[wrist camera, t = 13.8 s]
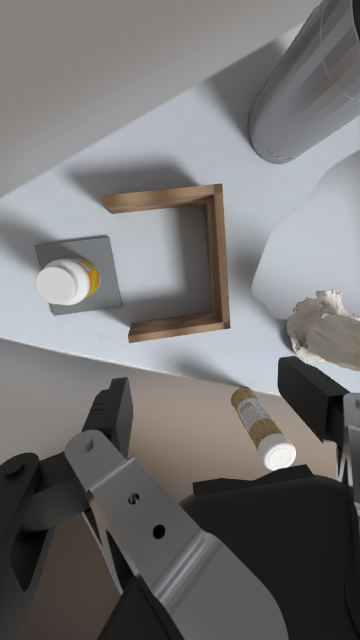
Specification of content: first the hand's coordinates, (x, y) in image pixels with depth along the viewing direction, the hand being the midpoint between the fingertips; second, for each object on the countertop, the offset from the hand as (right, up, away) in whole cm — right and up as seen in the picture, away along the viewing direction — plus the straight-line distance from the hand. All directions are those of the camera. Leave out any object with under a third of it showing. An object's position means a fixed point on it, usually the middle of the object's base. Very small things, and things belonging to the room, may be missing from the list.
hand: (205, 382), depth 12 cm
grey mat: (-16, +10, +22) cm, 29 cm away
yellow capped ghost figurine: (+23, +2, +29) cm, 37 cm away
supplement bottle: (-16, +9, +22) cm, 28 cm away
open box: (-3, +11, +23) cm, 26 cm away
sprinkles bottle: (+10, -11, +31) cm, 34 cm away
